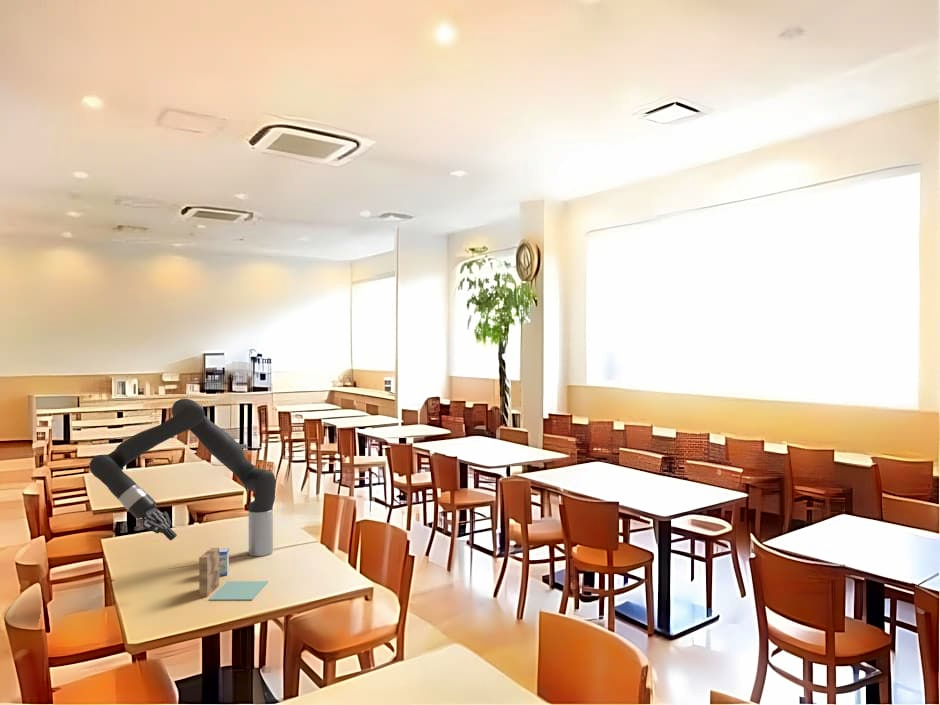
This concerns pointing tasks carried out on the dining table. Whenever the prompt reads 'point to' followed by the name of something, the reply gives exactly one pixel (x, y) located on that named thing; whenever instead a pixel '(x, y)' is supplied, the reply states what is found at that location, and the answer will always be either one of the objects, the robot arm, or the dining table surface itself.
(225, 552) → the medicine box
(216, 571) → the wooden block
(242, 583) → the mat
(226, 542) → the dining table surface
